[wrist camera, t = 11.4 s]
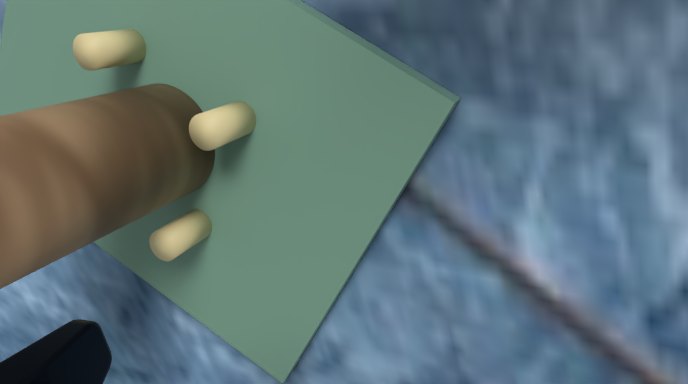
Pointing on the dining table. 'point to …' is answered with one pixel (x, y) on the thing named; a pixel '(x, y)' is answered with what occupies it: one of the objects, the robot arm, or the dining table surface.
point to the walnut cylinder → (91, 171)
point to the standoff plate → (243, 148)
